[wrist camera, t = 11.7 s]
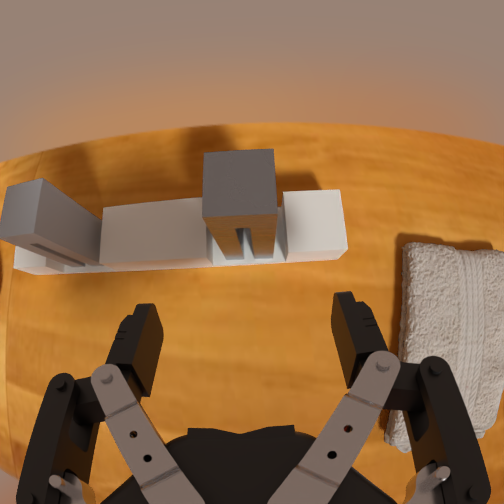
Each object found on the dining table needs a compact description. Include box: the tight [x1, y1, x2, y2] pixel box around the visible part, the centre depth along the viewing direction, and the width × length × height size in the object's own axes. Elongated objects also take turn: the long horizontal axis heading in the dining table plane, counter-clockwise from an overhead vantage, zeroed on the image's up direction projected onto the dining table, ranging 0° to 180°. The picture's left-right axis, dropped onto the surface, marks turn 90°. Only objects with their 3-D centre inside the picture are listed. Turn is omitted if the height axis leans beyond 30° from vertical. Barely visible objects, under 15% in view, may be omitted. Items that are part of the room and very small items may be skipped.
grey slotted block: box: [202, 149, 278, 260], centre depth 20 cm, size 4×4×10 cm
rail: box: [0, 178, 348, 275], centre depth 21 cm, size 28×4×10 cm, turn 93°
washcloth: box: [384, 242, 504, 453], centre depth 22 cm, size 12×18×3 cm, turn 175°
